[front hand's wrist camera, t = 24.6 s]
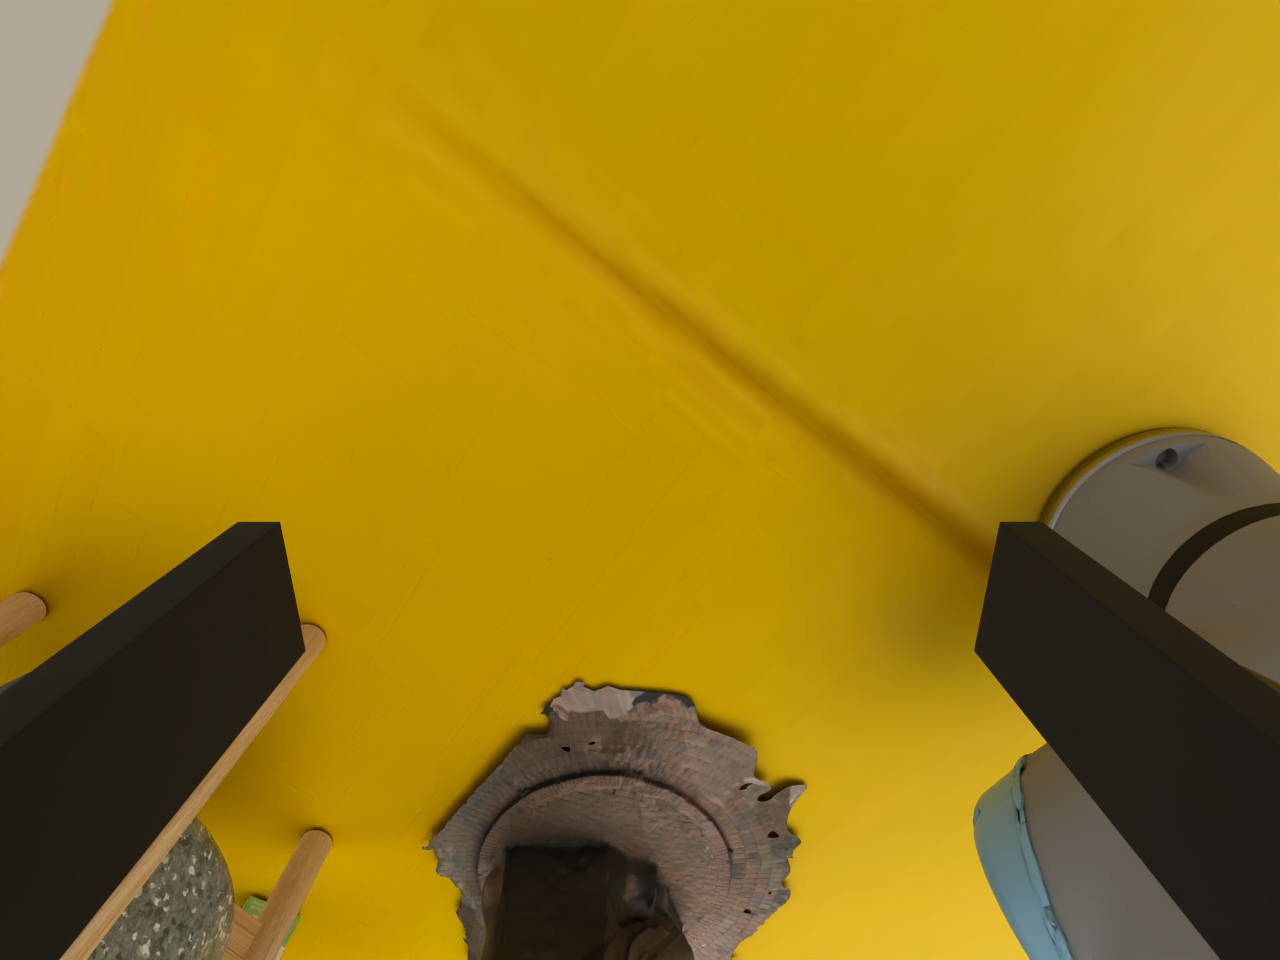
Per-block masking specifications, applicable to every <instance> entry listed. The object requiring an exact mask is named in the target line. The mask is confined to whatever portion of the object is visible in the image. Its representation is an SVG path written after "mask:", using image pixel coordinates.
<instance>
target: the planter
mask: <svg viewBox="0 0 1280 960" xmlns="http://www.w3.org/2000/svg"><path fill="white" fill-rule="evenodd" d="M45 616H46V606H45V604H44V603H43V601H42V600H41V599H40V598H39V597H37V596H35V595H34V594H31V593H27V592H20V593H16V594H14V595H13V596H11V597H9V598H8V599H6V600H4V601H2V602H1V603H0V647H1V646H3V645H4V644H6V643H7V642H9V641H10V640H12V639H13V638H15V637H17V636H18V635H20V634H21V633H23V632H24V631H26V630H27V629H29V628H30V627H32V626H33V625H35V624H37V623H38V622H40V621H41V620H43V619H44V617H45ZM301 629H302V634H303V639H304V644H305V649H306V651H305V652H304V654H303V655H302V656H301V657H300V659H299V660H298V661H297V662H296V664H295V665H294V666H293V667H292V669H291V670H290V671H289V672H288V674H287V675H286V676H285V677H284V679H283V680H282V681H281V682H280V684H279V685H278V686H277V688H276V689H275V690H274V691H273V693H272V694H271V695H270V696H269V698H268V699H267V700H266V701H265V703H264V704H263V705H262V706H261V708H260V709H259V710H258V711H257V713H256V714H255V715H254V716H253V718H252V719H251V720H250V721H249V723H248V724H247V725H246V726H245V728H244V729H243V730H242V731H241V733H240V734H239V735H238V736H237V738H236V739H235V740H234V741H233V743H232V744H231V745H230V747H229V748H228V749H227V750H226V752H225V753H224V754H223V755H222V757H221V758H220V759H219V760H218V762H217V763H216V764H215V765H214V767H213V768H212V769H211V770H210V772H209V773H208V774H207V775H206V777H205V778H204V779H203V780H202V782H201V783H200V784H199V785H198V787H197V788H196V789H195V790H194V792H193V793H192V794H191V795H190V797H189V798H188V799H187V800H186V802H185V803H184V804H183V806H182V807H181V808H180V809H179V811H178V812H177V813H176V814H175V816H174V817H173V818H172V819H171V821H170V822H169V823H168V824H167V826H166V827H165V828H164V829H163V831H162V832H161V833H160V834H159V836H158V837H157V838H156V839H155V841H154V842H153V843H152V844H151V846H150V847H149V848H148V849H147V851H146V852H145V853H144V854H143V856H142V857H141V858H140V859H139V861H138V862H137V863H136V865H135V866H134V867H133V868H132V870H131V871H130V872H129V873H128V875H127V876H126V877H125V878H124V880H123V881H122V882H121V883H120V885H119V886H118V887H117V888H116V890H115V891H114V892H113V893H112V895H111V896H110V897H109V898H108V900H107V901H106V902H105V903H104V905H103V906H102V907H101V908H100V910H99V911H98V912H97V913H96V915H95V916H94V917H93V918H92V920H91V921H90V922H89V924H88V925H87V926H86V927H85V929H84V930H83V931H82V932H81V934H80V935H79V936H78V937H77V939H76V940H75V941H74V942H73V944H72V945H71V946H70V947H69V949H68V950H67V951H66V952H65V954H64V955H63V956H62V957H61V959H60V960H275V958H276V956H277V954H278V952H279V950H280V948H281V946H282V944H283V942H284V940H285V938H286V936H287V934H288V932H289V930H290V928H291V926H292V924H293V922H294V920H295V918H296V916H297V914H298V912H299V910H300V908H301V906H302V904H303V902H304V900H305V898H306V896H307V894H308V892H309V890H310V888H311V886H312V884H313V882H314V880H315V878H316V876H317V874H318V872H319V870H320V868H321V866H322V865H323V863H324V861H325V859H326V857H327V855H328V853H329V851H330V849H331V846H332V840H331V838H330V836H329V835H328V834H326V833H325V832H323V831H319V830H311V831H308V832H306V833H305V834H304V835H303V837H302V839H301V840H300V842H299V844H298V846H297V848H296V849H295V851H294V853H293V855H292V857H291V858H290V860H289V862H288V864H287V866H286V867H285V869H284V871H283V873H282V875H281V876H280V878H279V880H278V882H277V884H276V885H275V887H274V889H273V891H272V892H271V894H270V896H269V898H268V900H267V901H266V903H265V905H264V907H263V909H262V910H261V912H260V914H259V916H258V918H257V919H256V918H255V917H253V916H252V915H251V914H249V913H248V912H247V911H245V910H244V909H242V908H241V907H240V906H238V905H237V904H236V903H234V890H233V885H232V879H231V876H230V873H229V869H228V866H227V864H226V862H225V859H224V857H223V855H222V853H221V851H220V849H219V847H218V845H217V844H216V842H215V840H214V839H213V837H212V835H211V834H210V832H209V831H208V830H207V828H206V827H205V826H204V824H203V823H202V822H201V821H200V820H199V818H198V817H197V816H196V815H197V814H198V812H199V811H200V810H201V808H202V807H203V806H204V805H205V803H206V802H207V801H208V799H209V798H210V797H211V795H212V794H213V793H214V791H215V790H216V789H217V787H218V786H219V785H220V783H221V782H222V781H223V780H224V778H225V777H226V776H227V774H228V773H229V772H230V770H231V769H232V768H233V766H234V765H235V764H236V762H237V761H238V760H239V758H240V757H241V756H242V755H243V753H244V752H245V751H246V749H247V748H248V747H249V745H250V744H251V743H252V741H253V740H254V739H255V737H256V736H257V735H258V733H259V732H260V731H261V730H262V728H263V727H264V726H265V724H266V723H267V722H268V720H269V719H270V718H271V716H272V715H273V714H274V712H275V711H276V710H277V708H278V707H279V706H280V704H281V703H282V702H283V701H284V699H285V698H286V697H287V695H288V694H289V693H290V691H291V690H292V689H293V687H294V686H295V685H296V683H297V682H298V681H299V679H300V678H301V677H302V676H303V674H304V673H305V672H306V670H307V669H308V668H309V666H310V665H311V664H312V662H313V661H314V660H315V658H316V657H317V656H318V654H319V653H320V652H321V651H322V649H323V648H324V646H325V644H326V638H325V635H324V633H323V632H322V631H321V630H320V629H319V628H318V627H316V626H314V625H310V624H302V625H301Z"/></svg>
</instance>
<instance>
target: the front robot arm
mask: <svg viewBox="0 0 1280 960" xmlns="http://www.w3.org/2000/svg"><path fill="white" fill-rule="evenodd" d="M305 651H306V649H305V644H304V639H303V634H302V629H301V624H300V619H299V614H298V609H297V604H296V599H295V594H294V589H293V584H292V579H291V574H290V569H289V564H288V559H287V554H286V549H285V544H284V539H283V535H282V530H281V525H280V522H237V523H236V524H234V525H233V526H232V527H230V528H229V529H228V530H226V531H225V532H223V533H222V534H221V535H219V536H218V537H216V538H215V539H214V540H212V541H211V542H210V543H208V544H207V545H205V546H204V547H203V548H201V549H200V550H199V551H197V552H196V553H194V554H193V555H192V556H190V557H189V558H187V559H186V560H185V561H183V562H182V563H181V564H179V565H178V566H176V567H175V568H174V569H172V570H171V571H169V572H168V573H167V574H165V575H164V576H163V577H161V578H160V579H158V580H157V581H156V582H154V583H153V584H151V585H150V586H149V587H147V588H146V589H145V590H143V591H142V592H140V593H139V594H138V595H136V596H135V597H134V598H132V599H131V600H129V601H128V602H127V603H125V604H124V605H122V606H121V607H120V608H118V609H117V610H116V611H114V612H113V613H111V614H110V615H109V616H107V617H106V618H104V619H103V620H102V621H100V622H99V623H98V624H96V625H95V626H93V627H92V628H91V629H89V630H88V631H86V632H85V633H84V634H82V635H81V636H80V637H78V638H77V639H75V640H74V641H73V642H71V643H70V644H69V645H67V646H66V647H64V648H63V649H62V650H60V651H59V652H57V653H56V654H55V655H53V656H52V657H51V658H49V659H48V660H46V661H45V662H44V663H42V664H41V665H39V666H38V667H37V668H35V669H34V670H33V671H31V672H29V673H27V674H25V675H23V676H21V677H19V678H17V679H15V680H13V681H11V682H9V683H7V684H5V685H3V686H1V687H0V960H60V959H61V957H62V956H63V955H64V954H65V952H66V951H67V950H68V949H69V947H70V946H71V945H72V944H73V942H74V941H75V940H76V939H77V937H78V936H79V935H80V934H81V932H82V931H83V930H84V929H85V927H86V926H87V925H88V924H89V922H90V921H91V920H92V918H93V917H94V916H95V915H96V913H97V912H98V911H99V910H100V908H101V907H102V906H103V905H104V903H105V902H106V901H107V900H108V898H109V897H110V896H111V895H112V893H113V892H114V891H115V890H116V888H117V887H118V886H119V885H120V883H121V882H122V881H123V880H124V878H125V877H126V876H127V875H128V873H129V872H130V871H131V870H132V868H133V867H134V866H135V865H136V863H137V862H138V861H139V859H140V858H141V857H142V856H143V854H144V853H145V852H146V851H147V849H148V848H149V847H150V846H151V844H152V843H153V842H154V841H155V839H156V838H157V837H158V836H159V834H160V833H161V832H162V831H163V829H164V828H165V827H166V826H167V824H168V823H169V822H170V821H171V819H172V818H173V817H174V816H175V814H176V813H177V812H178V811H179V809H180V808H181V807H182V806H183V804H184V803H185V802H186V800H187V799H188V798H189V797H190V795H191V794H192V793H193V792H194V790H195V789H196V788H197V787H198V785H199V784H200V783H201V782H202V780H203V779H204V778H205V777H206V775H207V774H208V773H209V772H210V770H211V769H212V768H213V767H214V765H215V764H216V763H217V762H218V760H219V759H220V758H221V757H222V755H223V754H224V753H225V752H226V750H227V749H228V748H229V747H230V745H231V744H232V743H233V741H234V740H235V739H236V738H237V736H238V735H239V734H240V733H241V731H242V730H243V729H244V728H245V726H246V725H247V724H248V723H249V721H250V720H251V719H252V718H253V716H254V715H255V714H256V713H257V711H258V710H259V709H260V708H261V706H262V705H263V704H264V703H265V701H266V700H267V699H268V698H269V696H270V695H271V694H272V693H273V691H274V690H275V689H276V688H277V686H278V685H279V684H280V682H281V681H282V680H283V679H284V677H285V676H286V675H287V674H288V672H289V671H290V670H291V669H292V667H293V666H294V665H295V664H296V662H297V661H298V660H299V659H300V657H301V656H302V655H303V654H304V652H305ZM974 651H975V652H976V654H977V655H978V656H979V657H980V659H981V660H982V661H983V662H984V664H985V665H986V666H987V667H988V669H989V670H990V671H991V672H992V674H993V675H994V676H995V677H996V679H997V680H998V681H999V682H1000V684H1001V685H1002V686H1003V688H1004V689H1005V690H1006V691H1007V693H1008V694H1009V695H1010V696H1011V698H1012V699H1013V700H1014V701H1015V703H1016V704H1017V705H1018V706H1019V708H1020V709H1021V710H1022V711H1023V713H1024V714H1025V715H1026V716H1027V718H1028V719H1029V720H1030V721H1031V723H1032V724H1033V725H1034V726H1035V728H1036V729H1037V730H1038V731H1039V733H1040V734H1041V735H1042V736H1043V738H1044V739H1045V740H1046V741H1047V743H1046V744H1045V745H1043V746H1042V747H1040V748H1039V749H1038V750H1036V751H1035V752H1033V753H1032V754H1031V753H1030V754H1027V755H1024V756H1022V757H1021V758H1020V759H1019V760H1018V761H1017V763H1016V764H1015V766H1014V769H1012V770H1011V771H1010V772H1009V773H1008V774H1007V775H1005V776H1004V777H1003V778H1002V779H1000V780H999V781H998V782H997V783H995V784H994V785H993V786H992V787H990V788H989V789H988V790H987V791H986V792H984V793H983V795H982V796H981V797H980V798H979V800H978V802H977V804H976V806H975V809H974V818H973V826H974V840H975V844H976V848H977V852H978V855H979V859H980V862H981V864H982V867H983V870H984V873H985V875H986V877H987V880H988V882H989V885H990V887H991V889H992V891H993V894H994V896H995V898H996V900H997V902H998V904H999V906H1000V908H1001V910H1002V912H1003V914H1004V916H1005V917H1006V919H1007V921H1008V923H1009V925H1010V927H1011V928H1012V930H1013V932H1014V934H1015V935H1016V937H1017V939H1018V941H1019V942H1020V944H1021V946H1022V947H1023V949H1024V951H1025V952H1026V954H1027V955H1028V957H1029V959H1030V960H1280V475H1279V474H1278V473H1277V472H1275V471H1274V470H1273V469H1272V468H1271V467H1270V466H1269V465H1268V464H1267V463H1266V462H1265V461H1264V460H1262V459H1261V458H1260V457H1259V456H1257V455H1256V454H1254V453H1252V452H1251V451H1250V450H1248V449H1247V448H1245V447H1243V446H1241V445H1239V444H1237V443H1235V442H1233V441H1230V440H1227V439H1225V438H1222V437H1219V436H1216V435H1213V434H1210V433H1208V432H1204V431H1200V430H1195V429H1187V428H1164V429H1157V430H1150V431H1146V432H1142V433H1138V434H1135V435H1132V436H1129V437H1126V438H1124V439H1121V440H1119V441H1117V442H1115V443H1113V444H1111V445H1109V446H1107V447H1105V448H1103V449H1102V450H1100V451H1098V452H1097V453H1095V454H1094V455H1092V456H1091V457H1090V458H1088V459H1087V460H1085V461H1084V462H1083V463H1082V464H1081V465H1079V466H1078V467H1077V468H1076V469H1075V470H1074V471H1073V472H1072V473H1071V474H1070V475H1069V476H1068V477H1067V478H1066V479H1065V480H1064V481H1063V482H1062V484H1061V485H1060V486H1059V487H1058V488H1057V490H1056V491H1055V493H1054V494H1053V495H1052V497H1051V499H1050V500H1049V502H1048V504H1047V505H1046V507H1045V509H1044V511H1043V513H1042V516H1041V518H1040V521H1039V522H1000V525H999V530H998V535H997V539H996V544H995V549H994V554H993V559H992V564H991V569H990V574H989V579H988V584H987V589H986V594H985V599H984V604H983V609H982V614H981V619H980V624H979V629H978V634H977V639H976V644H975V649H974Z"/></svg>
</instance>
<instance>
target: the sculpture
mask: <svg viewBox="0 0 1280 960" xmlns="http://www.w3.org/2000/svg"><path fill="white" fill-rule="evenodd" d="M584 684H585V682H576V683H574V686H572V687H571V688H569V689H568V690H565V689H564V688H562V692H561V696H560V697H557V698H555V699H554V700H553V702H552V703H551V705H549V706H546V707H545V709H544V710H543V711H542V712H541V713H540V714H545V715H546V716H547V717H548V719H549V722H550V730H549V732H548V733H547V734H544V735H537V734H529V733H525V734H524V736H525V737H526V738H523V740H522V741H521V743H518V744H517V745H516V746H515V748H513V750H512V752H510V753H509V755H508V757H506V758H505V759H504V761H502V762H503V763H502V764H500V765H499V766H498V767H497V768H496V769H495V771H494V772H493V773H492V774H491V775H490V776H488V778H487V779H485V782H484V783H483V784H481V786H479V787H478V788H477V789H476V790H475V792H473V793H474V794H473V795H472V796H470V797H469V799H467V803H466V804H463V805H462V807H461V808H459V809H458V812H456V814H454V815H453V816H452V819H450V821H448V823H446V826H445V828H444V829H443V830H442V831H440V832H439V833H438V834H436V835H435V836H434V837H432V840H429V846H427V847H425V848H424V847H423V848H422V849H426V850H430V849H433V851H434V853H435V855H436V857H437V858H438V860H439V862H438V865H437V868H436V872H437V873H438V874H439V875H440V876H442V877H447V878H450V879H451V880H452V882H453V883H454V885H455V886H456V887H457V888H459V889H460V890H461V893H462V895H463V896H462V900H461V906H460V908H458V909H457V911H456V914H457V916H458V918H459V920H460V921H461V922H462V924H463V926H464V928H465V929H466V931H467V932H468V934H467V933H466V934H465V935H466V940H467V941H466V940H465V939H464V938H463V940H464V941H465V942H466V944H467V945H468V960H731V959H730V957H731V955H732V953H733V952H734V950H735V949H736V947H737V946H738V944H739V943H740V942H741V941H743V940H744V939H746V938H748V937H749V936H752V935H753V934H754V933H755V932H756V931H757V929H756V928H757V927H758V926H759V925H763V924H764V921H765V920H766V919H768V918H769V917H770V916H771V915H772V914H774V912H776V911H777V908H778V907H780V906H782V905H783V903H784V904H785V903H786V902H787V900H788V899H789V897H790V889H788V888H784V887H783V886H782V883H781V882H782V881H783V880H784V879H785V878H786V877H787V876H788V875H789V873H790V865H789V863H788V860H787V859H788V858H793V856H792V854H793V851H794V849H795V848H796V847H797V846H798V845H799V844H800V843H801V841H800V839H799V838H798V837H797V836H795V835H793V834H791V833H790V832H789V831H788V828H787V817H788V814H789V812H790V809H791V807H792V806H793V804H794V803H795V801H796V800H797V799H798V798H799V796H800V795H801V794H802V793H803V792H804V790H805V789H806V788H807V786H806V785H795V786H790V787H787V788H785V789H783V790H782V791H780V792H779V793H777V794H776V795H775V796H774V797H773V798H772V799H770V800H768V801H765V802H760V801H758V797H759V796H760V795H761V794H763V793H766V792H768V791H769V790H770V789H771V786H770V785H769V784H768V783H767V782H764V781H761V780H758V779H756V778H755V776H754V770H755V766H756V762H757V751H756V750H755V749H754V748H753V747H751V746H749V745H747V744H745V743H742V742H740V741H738V740H736V739H734V738H732V737H729V736H726V735H724V734H721V733H718V732H715V731H713V730H710V729H708V728H706V727H704V726H703V725H701V724H700V722H699V721H698V717H697V713H696V708H695V705H694V703H693V702H692V700H690V699H688V698H687V697H684V696H680V695H675V694H667V693H656V692H642V691H627V690H619V689H616V688H613V687H610V686H607V687H604V688H602V689H599V690H597V691H593V690H590V689H588V688H585V687H584ZM590 742H595V744H593V745H588V743H590ZM561 747H569V748H570V752H566V751H564V750H563V749H562V748H561ZM554 752H555V753H554ZM747 783H753V784H752V785H749V786H748V787H747V788H746V789H745V790H740V787H741V786H742V785H744V784H747ZM764 786H766V787H764ZM771 831H775V832H776V833H777V834H778V835H779V837H778V838H769V837H768V834H769V833H770V832H771ZM445 868H447V869H448V870H445ZM768 892H772V893H771V894H768ZM745 909H749V910H750V911H751V914H747V913H744V910H745Z"/></svg>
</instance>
